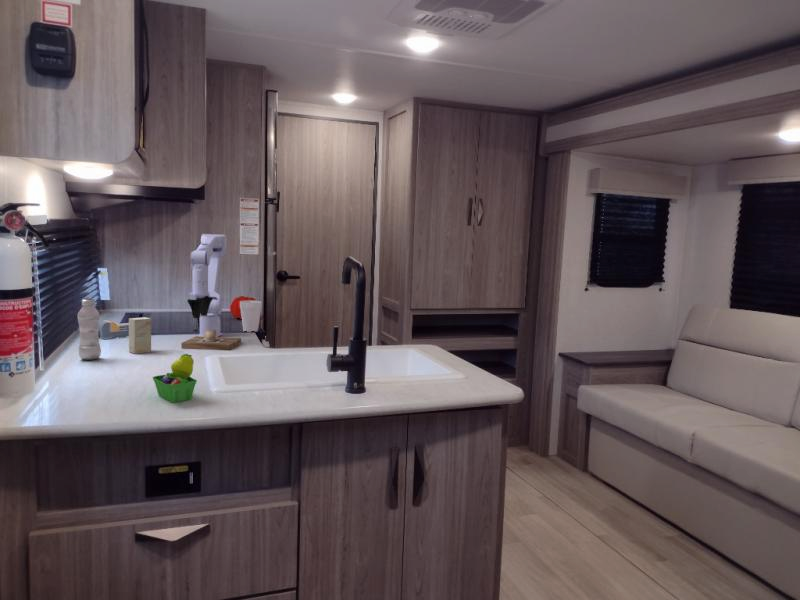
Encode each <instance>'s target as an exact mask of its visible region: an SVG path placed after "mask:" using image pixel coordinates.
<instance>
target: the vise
mask: <svg viewBox="0 0 800 600" xmlns="http://www.w3.org/2000/svg"><path fill="white" fill-rule="evenodd" d="M125 336H129V322H126V323H125V322H124V323H117V322H116V321H115V322H114V321H111V320H107V319H104V320H99V327H98V337H99V339H100V340H101V341H110V339H111V340H114V339H118V338H117V337H121V338H126V337H125ZM100 337H101V338H100Z"/></svg>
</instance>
